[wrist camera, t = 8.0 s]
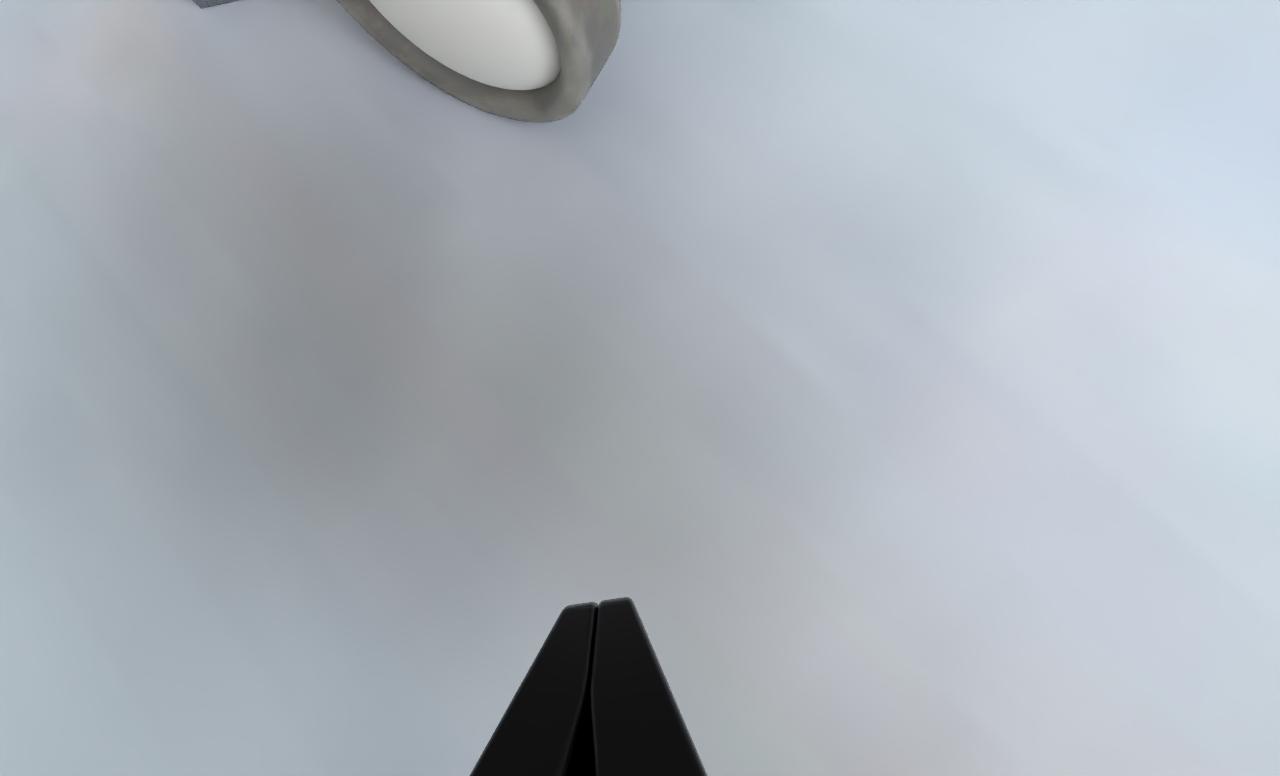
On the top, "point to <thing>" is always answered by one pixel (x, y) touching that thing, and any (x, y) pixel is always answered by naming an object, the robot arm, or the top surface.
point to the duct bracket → (210, 2)
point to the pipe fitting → (499, 48)
